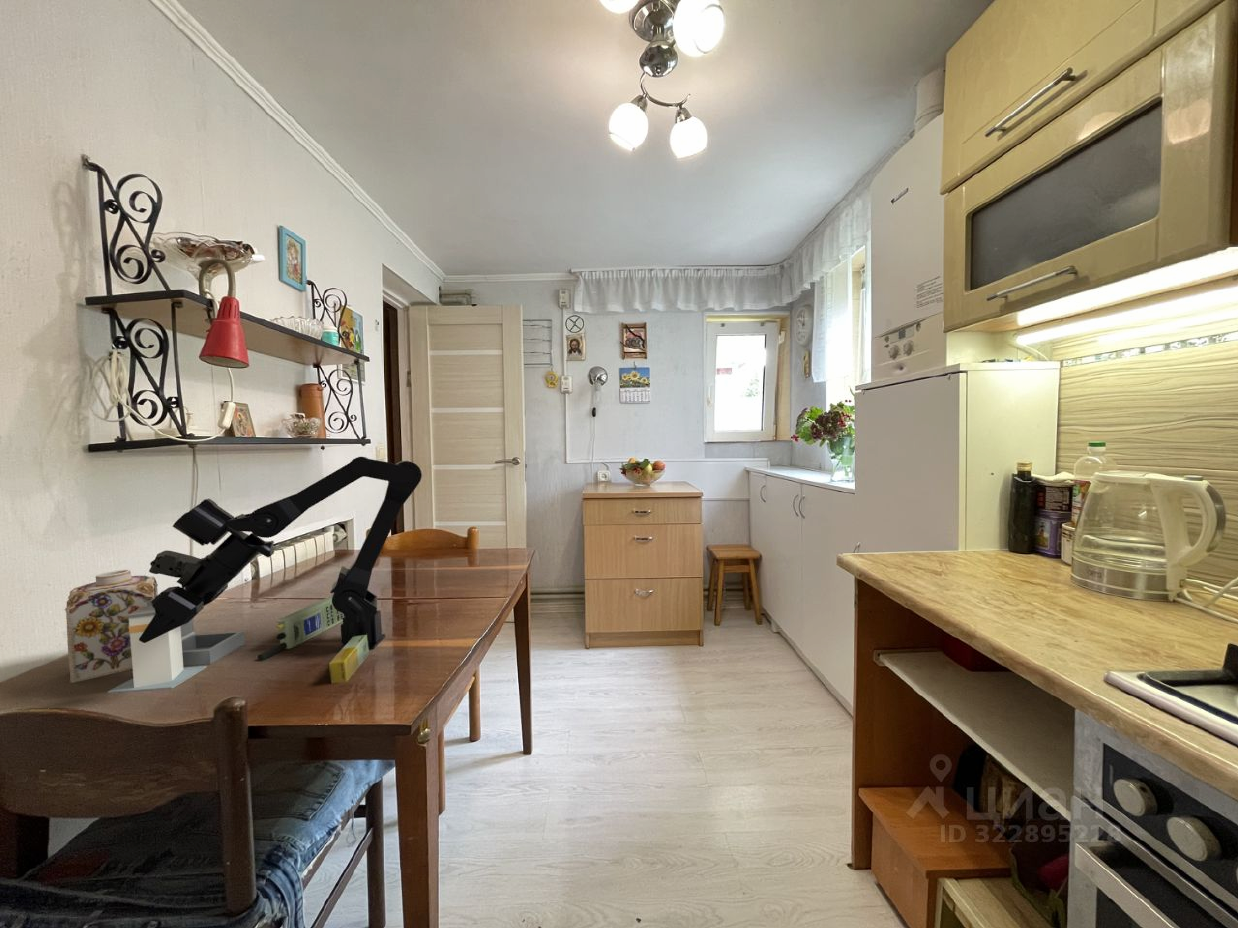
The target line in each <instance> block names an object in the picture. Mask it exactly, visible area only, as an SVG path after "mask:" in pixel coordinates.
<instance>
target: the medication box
mask: <svg viewBox="0 0 1238 928" xmlns="http://www.w3.org/2000/svg"><path fill="white" fill-rule="evenodd" d="M369 654H370V649H369V645H368V638H367V634H366V635H357V636H353V637H352V639H351V640H350V641H349V642H348V643H347V644H346V645H345V646H344V647H343V649H342V650H339V651H338V653H337V654H336V655H335V656H334V657H333V659H331V661H330V662H328V666H329V667H328V669H329V677H330V681H331V684H332V685H333V684H340V683H347V682H349V680H350V679H351V677H352V676H353V675H354V674H355V673H356V671H357V670H358V669H359V667H360V666H361V664H362V663H364V661H365V660H366V659H367V658H368V656H369Z"/></svg>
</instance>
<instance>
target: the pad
mask: <svg viewBox="0 0 1238 928" xmlns="http://www.w3.org/2000/svg"><path fill="white" fill-rule="evenodd" d="M207 668H208V666H207V665H196V666H183V670H182V671H181V672H180V673H179V674H178V675H177V677H176V678H175V679H174V680H173V681H170V682H164V683H158V684H153V685H147V686H142V687H136V688H134V679H133V677H132V678H131V679H129V680H127V681H126V682H125V681H124V682H123V683H121V684H119V685H117V686H116V687H114V688H111V689H110V690H108V691H107V693H106V694H119V693H130V692H142V691H143V692H145V691H155V690H156V691H158V690H169V689H171V690H173V688H175V687H177V686H178V685H180V684H182V683H183V682H185V681H187V680H188V679H190V678H191V677H193V676H195V675H196V674H198V673H200V672H201V671H203V670H205V669H207Z"/></svg>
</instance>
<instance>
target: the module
mask: <svg viewBox="0 0 1238 928" xmlns="http://www.w3.org/2000/svg"><path fill="white" fill-rule="evenodd" d="M154 615H155V609H154V608H153V607H152V605H151V606H143V607H141V608H139V609H137V610H136V611H134V612H133V613H131V614H129V615H128V618H129V634H130V641H131V654H132V667H133V669H132V676H133V677H132V678H133V679H134V688H136V687H142V686H147V685H153V684H158V683H164V682H170V681H173V680H174V679H175V678H176V677H177V675H178V674H179V673H180V672H181V671H182V670H183V667H184V666H183V656H182V642H181V628H180V626H179V627H177V628H175V629H173V630H171V631H169V632H167V633H165V634H163V635H161V636H159V637H157V638H155V639H152V640H150V641H148V642H146V643H143V642H141V641H139V638H140V637H141V635H142V634H143V632H144V631H145V629H146V628H147V626H148V625H149V623H150V622H151V620H152V618H153V617H154Z"/></svg>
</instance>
